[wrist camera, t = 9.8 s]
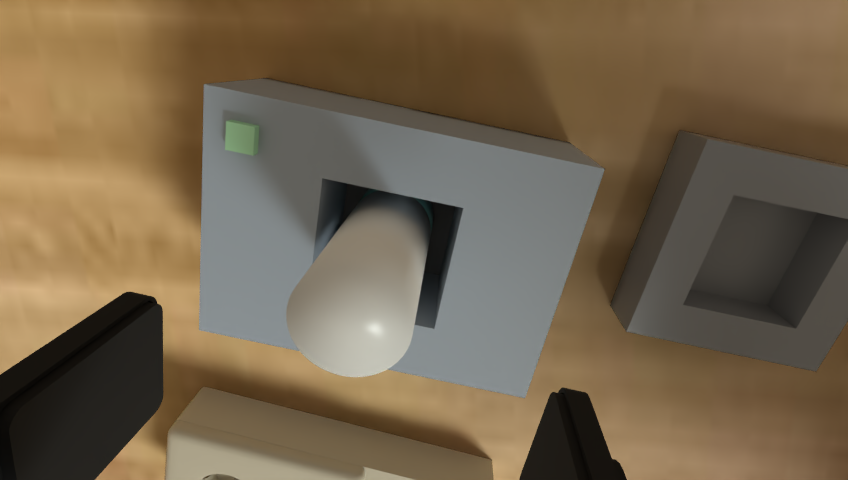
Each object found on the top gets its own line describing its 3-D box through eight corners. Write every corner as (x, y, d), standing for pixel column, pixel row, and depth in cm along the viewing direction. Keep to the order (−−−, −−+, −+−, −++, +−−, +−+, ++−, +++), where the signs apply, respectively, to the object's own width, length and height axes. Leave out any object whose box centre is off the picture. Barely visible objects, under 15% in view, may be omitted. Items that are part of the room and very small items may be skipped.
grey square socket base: (878, 172, 21) (931, 186, 18) (781, 341, 24) (815, 371, 22) (679, 130, 21) (708, 139, 18) (610, 305, 24) (626, 331, 21)
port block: (569, 142, 21) (608, 171, 16) (511, 328, 25) (526, 404, 19) (266, 78, 21) (197, 84, 15) (253, 273, 25) (194, 335, 19)
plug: (440, 187, 22) (424, 280, 12) (425, 256, 23) (400, 388, 14) (365, 171, 22) (292, 252, 12) (354, 241, 23) (280, 362, 14)
